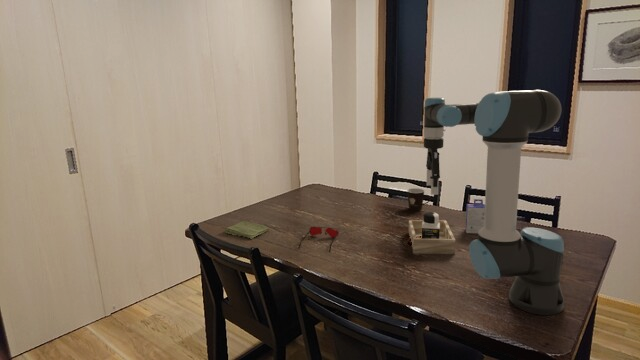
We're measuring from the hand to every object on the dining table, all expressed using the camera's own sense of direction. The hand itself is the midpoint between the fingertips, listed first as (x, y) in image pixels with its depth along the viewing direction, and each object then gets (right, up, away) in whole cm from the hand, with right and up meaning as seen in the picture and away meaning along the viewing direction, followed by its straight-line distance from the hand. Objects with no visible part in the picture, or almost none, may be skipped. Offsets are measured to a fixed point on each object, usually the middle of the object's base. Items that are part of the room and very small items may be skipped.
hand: (432, 189), depth 172 cm
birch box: (+1, -22, +6) cm, 23 cm away
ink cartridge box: (+24, -19, +16) cm, 35 cm away
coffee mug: (+5, -12, +47) cm, 48 cm away
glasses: (-46, -24, +10) cm, 53 cm away
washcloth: (-79, -21, +26) cm, 86 cm away
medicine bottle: (+1, -22, +6) cm, 23 cm away
